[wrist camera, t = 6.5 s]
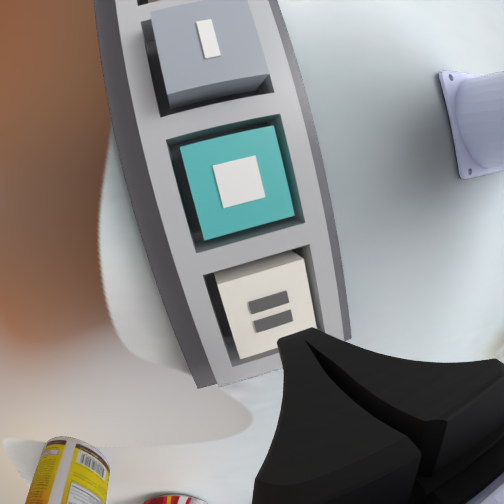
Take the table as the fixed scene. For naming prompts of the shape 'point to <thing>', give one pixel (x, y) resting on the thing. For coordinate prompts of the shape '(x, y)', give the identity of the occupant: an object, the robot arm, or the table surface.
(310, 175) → the keypad board
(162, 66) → the key slate
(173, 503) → the soda can
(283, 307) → the key cream
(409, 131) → the table surface
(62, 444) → the supplement bottle
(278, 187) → the key teal
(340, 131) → the table surface
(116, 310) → the table surface
